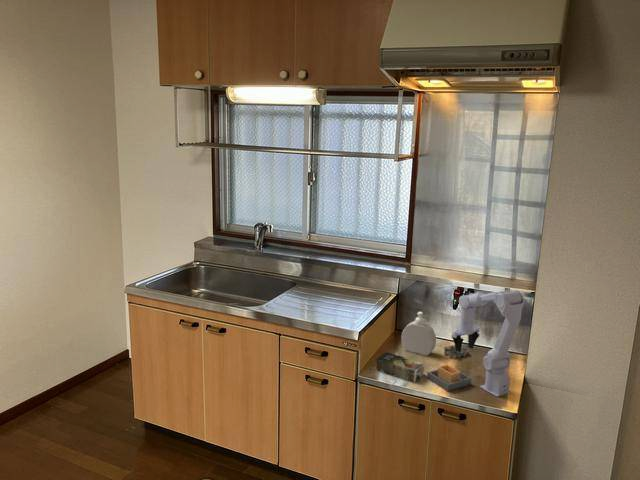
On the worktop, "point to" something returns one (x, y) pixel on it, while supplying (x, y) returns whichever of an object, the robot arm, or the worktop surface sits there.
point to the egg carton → (454, 351)
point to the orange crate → (448, 374)
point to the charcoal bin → (463, 382)
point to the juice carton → (400, 366)
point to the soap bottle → (419, 336)
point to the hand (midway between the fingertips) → (464, 349)
